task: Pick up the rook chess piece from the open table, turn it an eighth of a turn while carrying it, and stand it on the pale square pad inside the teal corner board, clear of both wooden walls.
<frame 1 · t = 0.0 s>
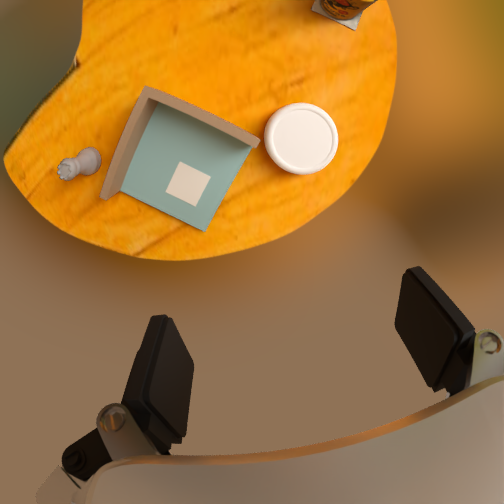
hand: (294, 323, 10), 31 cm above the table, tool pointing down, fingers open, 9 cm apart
white round container: (298, 137, 36), on the table
corner arena: (181, 160, 37), on the table
rook chess piece: (91, 160, 35), on the table
condiment: (340, 2, 25), on the table
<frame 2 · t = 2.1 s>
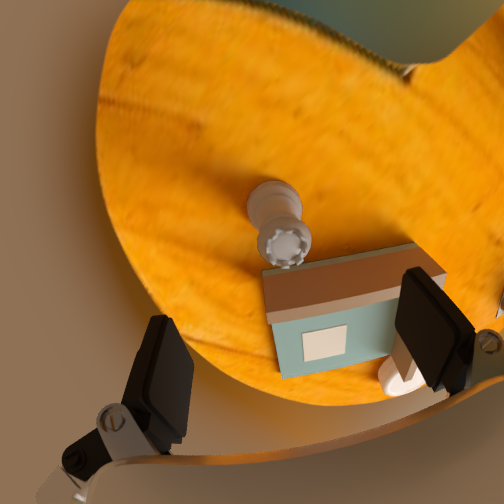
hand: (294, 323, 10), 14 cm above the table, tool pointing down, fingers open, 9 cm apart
white round container: (405, 360, 34), on the table
corner arena: (344, 318, 28), on the table
rook chess piece: (273, 204, 22), on the table
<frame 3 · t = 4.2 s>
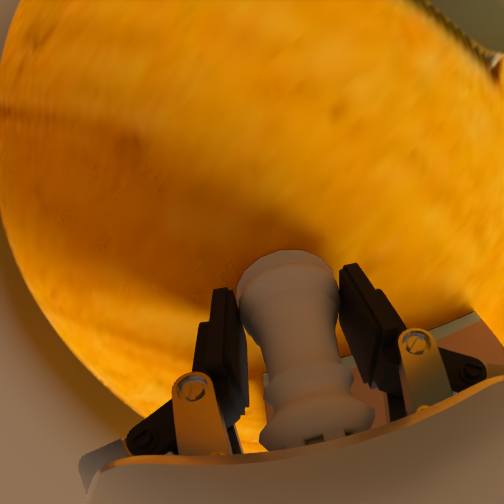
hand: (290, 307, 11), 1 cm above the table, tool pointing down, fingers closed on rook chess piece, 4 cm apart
corner arena: (370, 404, 18), on the table
rook chess piece: (285, 285, 12), on the table, touching gripper
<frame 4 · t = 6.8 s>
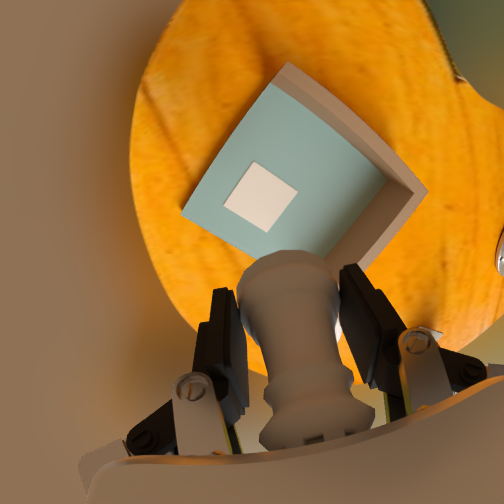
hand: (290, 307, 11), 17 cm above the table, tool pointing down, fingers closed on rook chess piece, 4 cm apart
corner arena: (295, 188, 26), on the table
rook chess piece: (284, 285, 12), point 15 cm above the table, touching gripper
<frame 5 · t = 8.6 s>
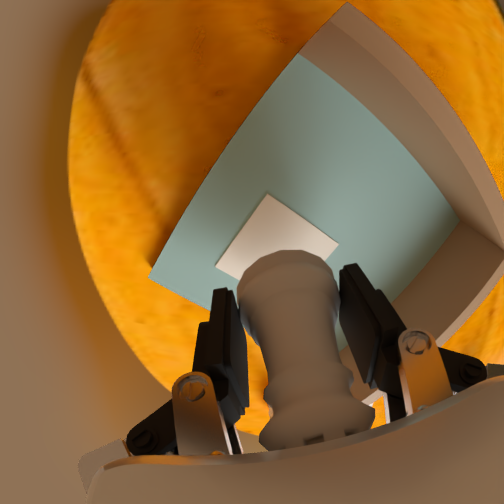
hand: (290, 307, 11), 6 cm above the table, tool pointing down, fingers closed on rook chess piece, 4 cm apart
corner arena: (333, 236, 16), on the table
rook chess piece: (284, 285, 12), point 4 cm above the table, touching gripper
when the fingers open (4 cm above the table, at t = 9.8 s): rook chess piece drops 1 cm, resting on corner arena.
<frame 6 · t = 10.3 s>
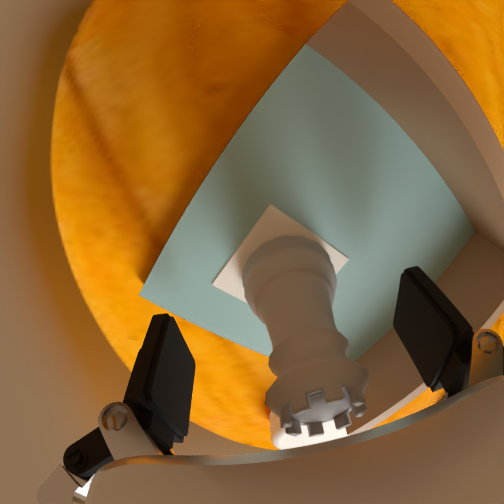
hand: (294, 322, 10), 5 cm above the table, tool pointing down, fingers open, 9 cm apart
white round container: (319, 404, 23), on the table
corner arena: (342, 249, 14), on the table
rook chess piece: (286, 270, 14), point 1 cm above the table, touching corner arena
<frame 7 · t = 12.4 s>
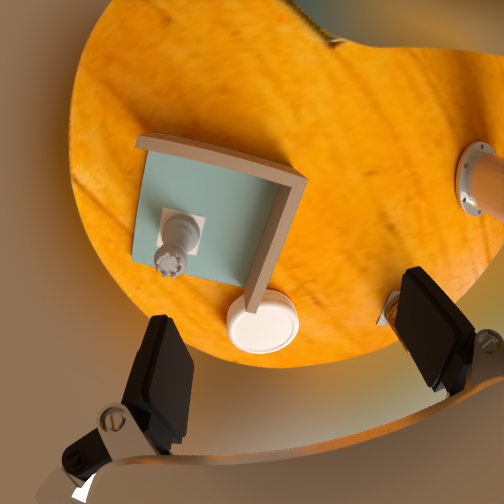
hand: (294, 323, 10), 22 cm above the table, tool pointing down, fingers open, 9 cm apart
white round container: (260, 314, 39), on the table
corner arena: (206, 214, 31), on the table
rook chess piece: (182, 230, 31), point 1 cm above the table, touching corner arena
condiment: (401, 306, 41), on the table
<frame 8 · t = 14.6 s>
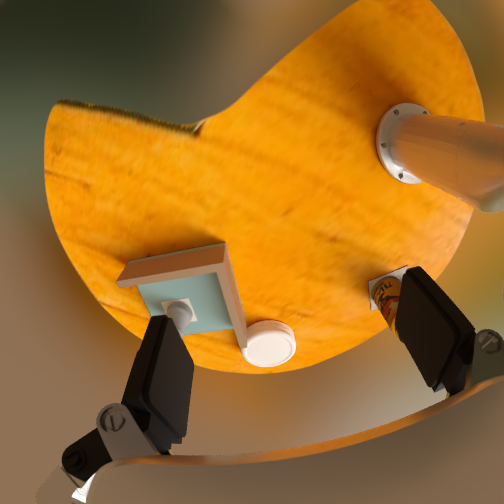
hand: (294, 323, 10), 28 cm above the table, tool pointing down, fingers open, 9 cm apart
white round container: (267, 337, 50), on the table
corner arena: (189, 294, 44), on the table
rook chess piece: (180, 310, 44), point 1 cm above the table, touching corner arena
condiment: (388, 287, 46), on the table
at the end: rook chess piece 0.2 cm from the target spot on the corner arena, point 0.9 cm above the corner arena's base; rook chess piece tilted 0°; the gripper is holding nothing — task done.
